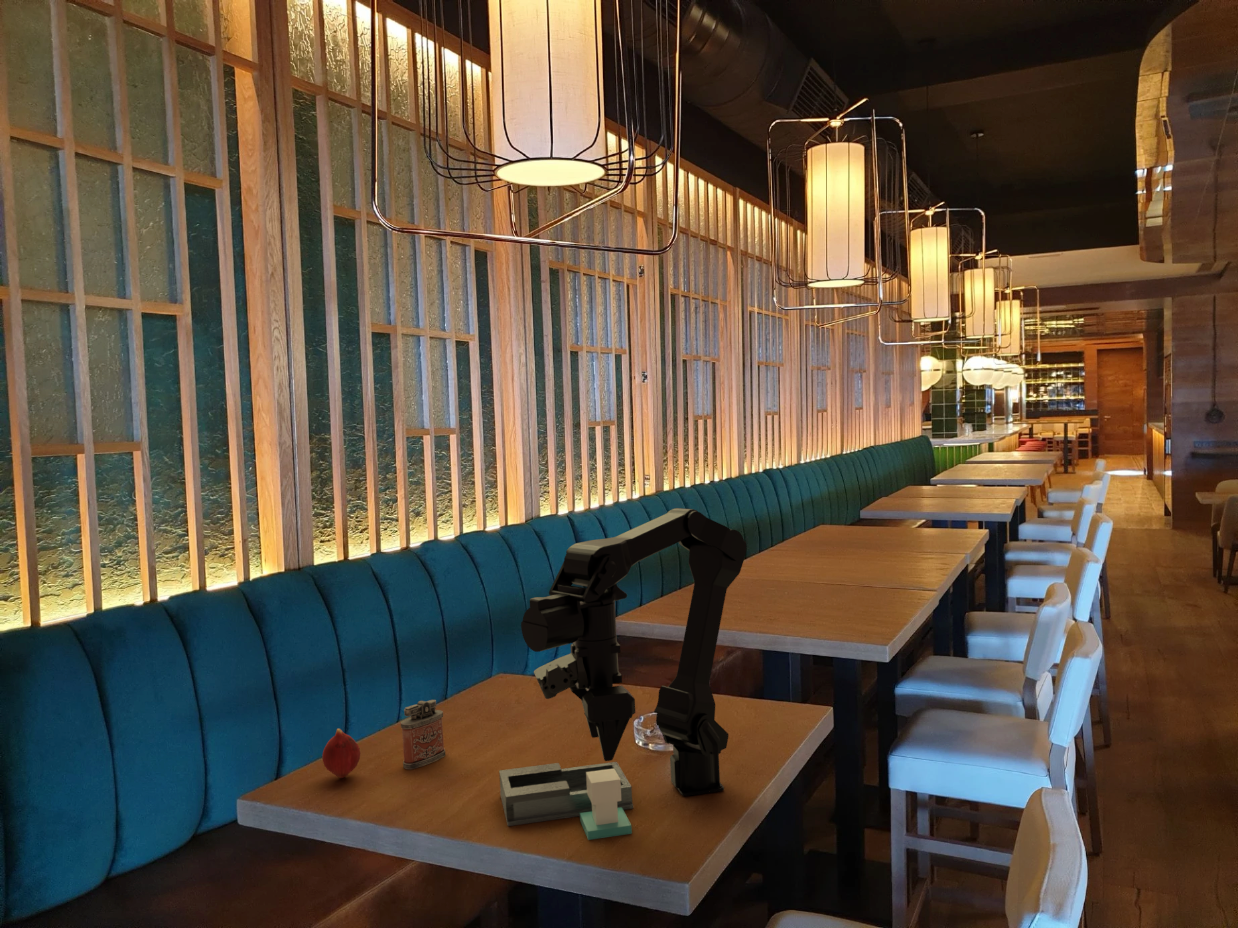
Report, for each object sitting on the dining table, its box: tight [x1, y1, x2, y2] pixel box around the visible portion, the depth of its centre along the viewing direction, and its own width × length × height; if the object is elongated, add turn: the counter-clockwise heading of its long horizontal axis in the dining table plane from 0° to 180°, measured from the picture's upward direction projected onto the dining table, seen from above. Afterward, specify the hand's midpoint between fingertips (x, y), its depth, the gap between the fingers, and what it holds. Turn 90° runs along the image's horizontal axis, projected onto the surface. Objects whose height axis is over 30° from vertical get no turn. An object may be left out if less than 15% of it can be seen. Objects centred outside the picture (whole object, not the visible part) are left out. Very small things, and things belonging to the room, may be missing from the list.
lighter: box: [400, 699, 446, 770], centre depth 155 cm, size 8×3×10 cm, turn 141°
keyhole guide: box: [499, 761, 634, 827], centre depth 136 cm, size 18×11×4 cm, turn 102°
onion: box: [321, 728, 361, 779], centre depth 149 cm, size 6×6×8 cm
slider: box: [579, 769, 633, 841], centre depth 127 cm, size 6×6×7 cm
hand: (601, 748), depth 127 cm, fingers open, 9 cm apart
